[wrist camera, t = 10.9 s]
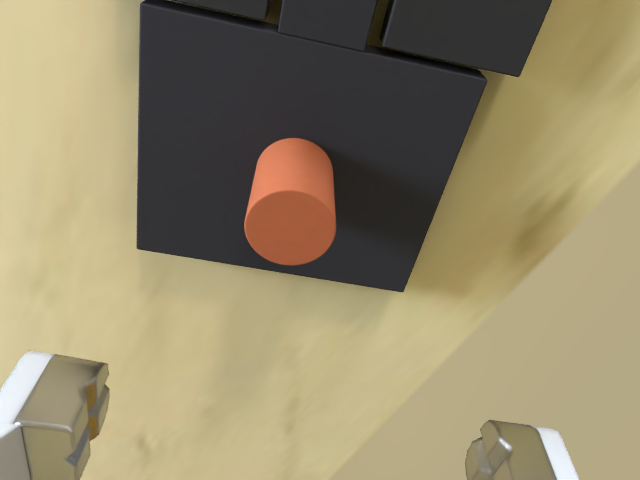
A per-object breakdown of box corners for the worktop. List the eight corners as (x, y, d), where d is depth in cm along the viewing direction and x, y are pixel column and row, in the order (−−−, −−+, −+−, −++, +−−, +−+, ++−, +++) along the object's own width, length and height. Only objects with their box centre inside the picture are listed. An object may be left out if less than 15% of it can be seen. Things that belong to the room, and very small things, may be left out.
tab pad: (507, -3, 18) (568, 33, 13) (400, 276, 25) (417, 359, 20) (151, -89, 16) (92, -80, 12) (143, 233, 23) (104, 313, 19)
